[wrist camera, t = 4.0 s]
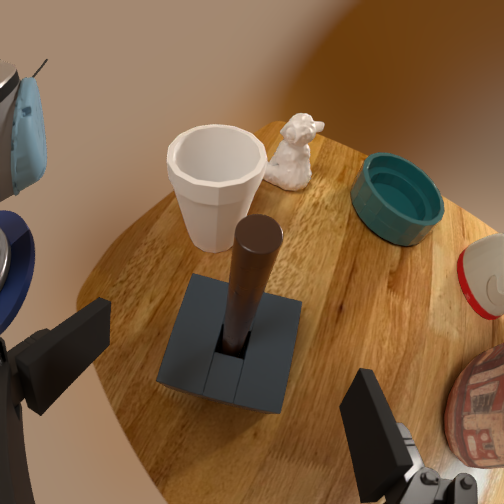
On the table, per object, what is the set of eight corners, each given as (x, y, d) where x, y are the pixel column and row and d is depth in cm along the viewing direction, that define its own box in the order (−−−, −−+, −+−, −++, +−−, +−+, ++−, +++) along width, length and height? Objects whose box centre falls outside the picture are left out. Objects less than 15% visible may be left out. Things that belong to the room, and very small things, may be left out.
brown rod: (217, 355, 29) (224, 231, 11) (229, 343, 30) (256, 205, 11) (230, 366, 29) (262, 263, 10) (241, 354, 30) (293, 232, 11)
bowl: (333, 206, 42) (346, 177, 37) (370, 166, 49) (382, 141, 44) (409, 266, 38) (432, 244, 33) (433, 214, 45) (450, 192, 40)
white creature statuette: (290, 152, 48) (306, 92, 37) (324, 185, 44) (349, 123, 34) (243, 168, 44) (252, 101, 34) (276, 205, 41) (296, 137, 31)
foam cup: (238, 198, 41) (248, 120, 30) (261, 253, 36) (282, 176, 25) (170, 212, 38) (160, 132, 27) (185, 271, 34) (174, 196, 23)
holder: (166, 387, 27) (155, 380, 22) (195, 297, 32) (192, 272, 27) (268, 414, 26) (280, 414, 21) (287, 321, 32) (302, 301, 27)
